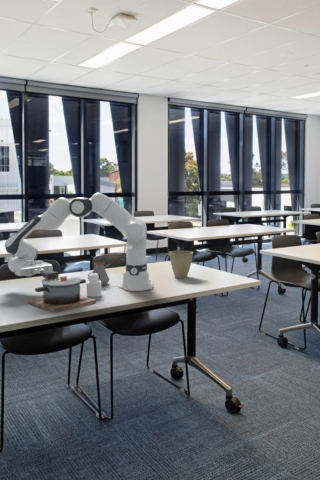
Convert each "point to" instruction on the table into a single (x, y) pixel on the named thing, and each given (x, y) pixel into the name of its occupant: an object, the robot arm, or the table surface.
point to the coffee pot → (103, 271)
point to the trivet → (58, 308)
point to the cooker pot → (61, 293)
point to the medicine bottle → (93, 285)
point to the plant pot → (181, 262)
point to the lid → (59, 279)
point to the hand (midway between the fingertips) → (41, 271)
